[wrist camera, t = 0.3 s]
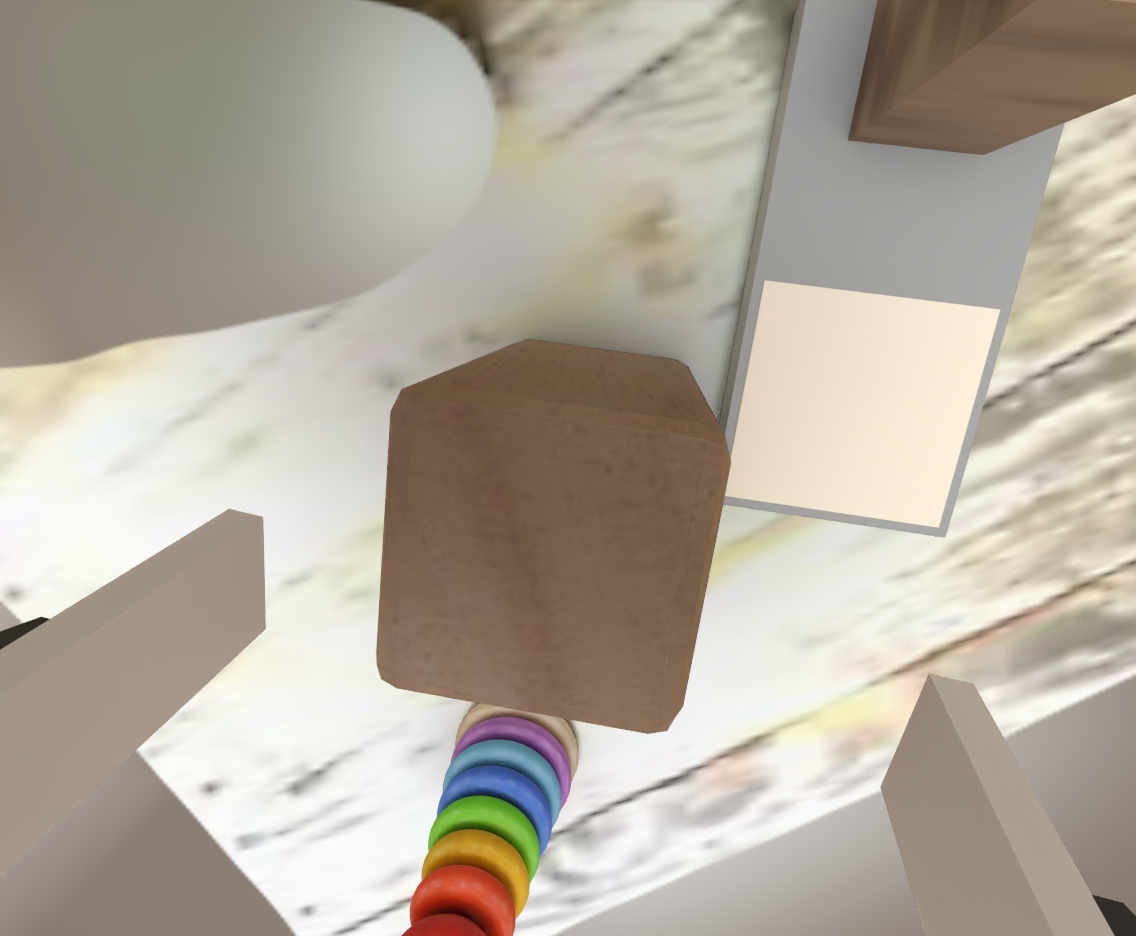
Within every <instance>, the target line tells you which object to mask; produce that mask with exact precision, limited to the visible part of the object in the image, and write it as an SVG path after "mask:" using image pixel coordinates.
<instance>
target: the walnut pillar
mask: <svg viewBox="0 0 1136 936" xmlns="http://www.w3.org/2000/svg"><path fill="white" fill-rule="evenodd" d="M1134 94H1136V0H877V5H876V9H875V14H874V19H873V24H872V28H871V33H870V38H869V42H868V47H867V52H866V57H865V61H864V66H863V71H862V76H861V80H860V85H859V90H858V94H857V99H856V104H855V109H854V113H853V118H852V123H851V128H850V132H849V137H848V141H856V142H865V143H875V144H884V145H893V146H903V147H912V148H921V149H931V150H940V151H950V152H959V153H968V154H978V155H985V154H988V153H990V152H993V151H995V150H998V149H1000V148H1003V147H1005V146H1007V145H1010V144H1012V143H1015V142H1017V141H1020V140H1022V139H1025V138H1027V137H1030V136H1032V135H1035V134H1037V133H1040V132H1042V131H1045V130H1047V129H1050V128H1052V127H1055V126H1057V125H1060V124H1062V123H1065V122H1067V121H1070V120H1072V119H1075V118H1077V117H1080V116H1082V115H1085V114H1087V113H1090V112H1092V111H1095V110H1097V109H1100V108H1102V107H1105V106H1107V105H1110V104H1112V103H1115V102H1117V101H1119V100H1122V99H1124V98H1127V97H1129V96H1132V95H1134Z"/></svg>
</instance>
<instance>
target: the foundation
mask: <svg viewBox="0 0 1136 936" xmlns="http://www.w3.org/2000/svg"><path fill="white" fill-rule="evenodd" d="M876 5H877V0H801V1H800V3H799V5H798V7H797V8H796V10H795V14H794V19H793V25H792V30H791V36H790V41H789V47H788V52H787V57H786V63H785V68H784V74H783V79H782V85H781V90H780V95H779V101H778V106H777V112H776V117H775V123H774V128H773V133H772V139H771V144H770V150H769V155H768V161H767V166H766V172H765V177H764V182H763V188H762V193H761V199H760V204H759V210H758V215H757V220H756V226H755V231H754V237H753V242H752V248H751V253H750V258H749V264H748V269H747V275H746V280H745V286H744V291H743V296H742V302H741V307H740V313H739V318H738V324H737V329H736V334H735V340H734V345H733V351H732V356H731V362H730V367H729V373H728V378H727V383H726V389H725V394H724V400H723V405H722V411H721V416H720V421H719V425H720V427H721V429H722V431H723V433H724V435H725V437H726V441H727V445H728V450H729V454H730V459H731V467H730V472H729V477H728V482H727V487H726V492H725V497H724V502H723V504H724V505H731V506H737V507H744V508H751V509H757V510H764V511H771V512H777V513H784V514H791V515H798V516H804V517H811V518H818V519H824V520H831V521H838V522H844V523H851V524H858V525H864V526H871V527H878V528H885V529H891V530H898V531H905V532H911V533H918V534H925V535H931V536H938V537H946V534H947V530H948V527H949V523H950V520H951V516H952V513H953V509H954V506H955V502H956V499H957V495H958V492H959V488H960V485H961V481H962V478H963V474H964V471H965V467H966V464H967V460H968V457H969V453H970V450H971V446H972V443H973V439H974V436H975V432H976V429H977V426H978V422H979V419H980V415H981V412H982V408H983V405H984V401H985V398H986V394H987V391H988V387H989V384H990V380H991V377H992V373H993V370H994V366H995V363H996V359H997V356H998V352H999V349H1000V345H1001V342H1002V338H1003V335H1004V331H1005V328H1006V324H1007V321H1008V317H1009V314H1010V310H1011V307H1012V303H1013V300H1014V296H1015V293H1016V290H1017V286H1018V283H1019V279H1020V276H1021V272H1022V269H1023V265H1024V262H1025V258H1026V255H1027V251H1028V248H1029V244H1030V241H1031V237H1032V234H1033V230H1034V227H1035V223H1036V220H1037V216H1038V213H1039V209H1040V206H1041V202H1042V199H1043V195H1044V192H1045V188H1046V185H1047V181H1048V178H1049V174H1050V171H1051V167H1052V164H1053V160H1054V157H1055V153H1056V150H1057V147H1058V143H1059V140H1060V136H1061V133H1062V129H1063V126H1064V123H1062V124H1060V125H1057V126H1055V127H1052V128H1050V129H1047V130H1045V131H1042V132H1040V133H1037V134H1035V135H1032V136H1030V137H1027V138H1025V139H1022V140H1020V141H1017V142H1015V143H1012V144H1010V145H1007V146H1005V147H1003V148H1000V149H998V150H995V151H993V152H990V153H988V154H985V155H978V154H968V153H959V152H950V151H940V150H931V149H921V148H912V147H903V146H893V145H884V144H875V143H865V142H856V141H848V137H849V132H850V128H851V123H852V118H853V113H854V109H855V104H856V99H857V94H858V90H859V85H860V80H861V76H862V71H863V66H864V61H865V57H866V52H867V47H868V42H869V38H870V33H871V28H872V24H873V19H874V14H875V9H876Z"/></svg>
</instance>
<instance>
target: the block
mask: <svg viewBox="0 0 1136 936" xmlns="http://www.w3.org/2000/svg"><path fill="white" fill-rule="evenodd" d="M730 467H731V459H730V454H729V450H728V445H727V441H726V437H725V435H724V433H723V431H722V429H721V427H720V425H719V424H718V422H717V420H716V418H715V416H714V414H713V412H712V410H711V409H710V407H709V405H708V403H707V401H706V399H705V397H704V396H703V394H702V392H701V390H700V388H699V386H698V384H697V382H696V381H695V379H694V377H693V375H692V373H691V371H690V369H689V368H688V367H687V366H685V365H684V364H682V363H680V362H679V361H677V360H673V359H666V358H659V357H652V356H645V355H638V354H630V353H623V352H616V351H609V350H602V349H595V348H587V347H580V346H573V345H566V344H559V343H552V342H544V341H537V340H530V339H529V340H525V341H521V342H518V343H515V344H512V345H510V346H507V347H505V348H502V349H500V350H497V351H495V352H492V353H490V354H487V355H485V356H483V357H480V358H478V359H475V360H473V361H470V362H468V363H465V364H463V365H460V366H458V367H455V368H453V369H450V370H448V371H445V372H443V373H441V374H438V375H436V376H433V377H431V378H428V379H426V380H423V381H421V382H418V383H416V384H413V385H411V386H408V387H406V388H403V389H402V390H401V392H400V394H399V396H398V398H397V400H396V402H395V404H394V406H393V408H392V410H391V414H390V431H389V448H388V465H387V482H386V499H385V515H384V532H383V549H382V566H381V583H380V600H379V617H378V634H377V651H376V654H377V667H378V670H379V673H380V676H381V679H382V680H384V681H385V682H387V683H389V684H391V685H392V686H394V687H396V688H399V689H404V690H410V691H415V692H421V693H426V694H432V695H437V696H443V697H448V698H454V699H459V700H465V701H470V702H476V703H481V704H487V705H492V706H498V707H503V708H509V709H514V710H520V711H525V712H531V713H536V714H542V715H548V716H553V717H559V718H564V719H570V720H575V721H581V722H586V723H592V724H597V725H603V726H608V727H614V728H619V729H625V730H630V731H636V732H641V733H647V734H649V733H656V732H663V731H667V730H668V729H669V727H670V725H671V723H672V722H673V720H674V718H675V717H676V715H677V714H678V713H679V711H680V710H681V708H682V707H683V704H684V699H685V694H686V689H687V684H688V679H689V674H690V669H691V664H692V658H693V653H694V648H695V643H696V638H697V633H698V628H699V623H700V618H701V613H702V608H703V603H704V598H705V593H706V588H707V583H708V578H709V573H710V568H711V563H712V558H713V552H714V547H715V542H716V537H717V532H718V527H719V522H720V517H721V512H722V507H723V502H724V497H725V492H726V487H727V482H728V477H729V472H730Z"/></svg>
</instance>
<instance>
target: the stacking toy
mask: <svg viewBox="0 0 1136 936" xmlns="http://www.w3.org/2000/svg"><path fill="white" fill-rule="evenodd" d="M577 764H578V747H577V742H576V739H575V736H574V734H573V732H572V730H571V728H570V726H569V725H568V723H567V722H566V721H565V719H564V718H559V717H553V716H548V715H542V714H536V713H531V712H525V711H520V710H514V709H509V708H503V707H498V706H492V705H487V704H481V703H479V704H478V705H476V706H475V707H474V708H473V709H472V710H471V711H469V713H468V714H467V715H466V716H465V718H464V719H463V721H462V723H461V725H460V727H459V729H458V732H457V736H456V743H455V750H454V752H453V755H452V759H451V765H450V766H449V768H448V770H447V773H446V775H445V779H444V783H443V794H442V797H441V799H440V802H439V806H438V811H437V818H436V820H435V822H434V824H433V826H432V828H431V832H430V836H429V843H428V850H429V852H428V854H427V856H426V858H425V861H424V864H423V868H422V882H421V883H420V884H419V885H418V887H417V889H416V891H415V893H414V895H413V897H412V901H411V906H410V922H411V927H410V928H409V929H408V930H407V931H406V932H404V934H403V935H402V936H513V933H514V929H515V920H516V918H517V917H518V915H519V914H520V913H521V911H522V910H523V908H524V906H525V904H526V902H527V898H528V894H529V884H530V882H531V881H532V879H533V877H534V875H535V873H536V871H537V867H538V863H539V857H540V856H541V855H542V853H543V852H544V850H545V849H546V847H547V845H548V842H549V839H550V835H551V830H552V827H553V826H554V824H555V822H556V820H557V818H558V815H559V813H560V810H561V808H562V807H563V805H564V804H565V802H566V800H567V798H568V795H569V792H570V787H571V781H572V780H573V777H574V775H575V772H576V769H577Z"/></svg>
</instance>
